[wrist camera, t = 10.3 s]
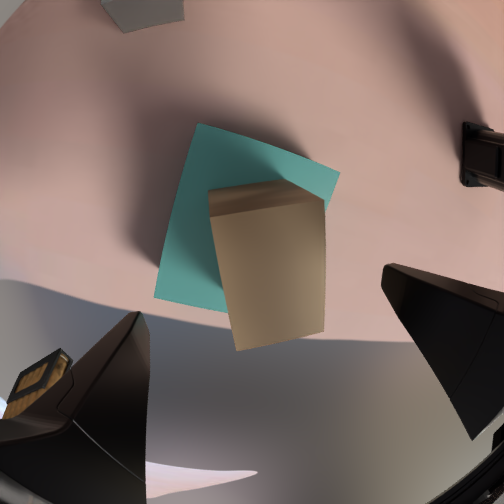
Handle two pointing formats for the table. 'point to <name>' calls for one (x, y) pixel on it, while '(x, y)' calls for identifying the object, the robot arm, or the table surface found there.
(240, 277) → the walnut brick
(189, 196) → the teal brick
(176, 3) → the charcoal brick
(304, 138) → the table surface
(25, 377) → the ammunition clip
